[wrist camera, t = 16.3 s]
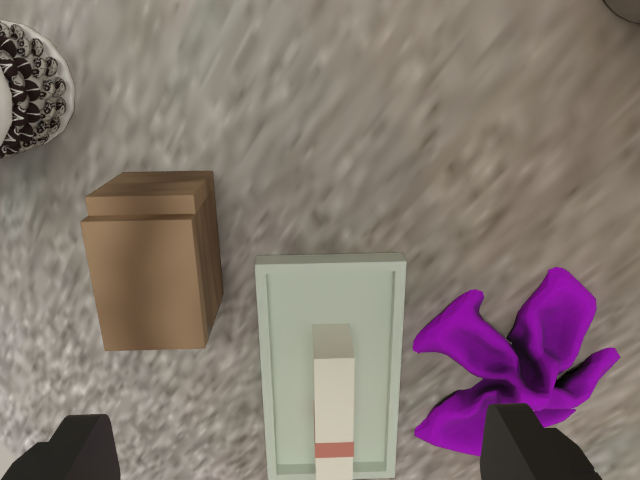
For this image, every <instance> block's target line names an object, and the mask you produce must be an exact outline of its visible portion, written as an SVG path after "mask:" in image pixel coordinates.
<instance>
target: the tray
mask: <svg viewBox="0 0 640 480" xmlns="http://www.w3.org/2000/svg"><path fill="white" fill-rule="evenodd" d="M406 262H407V261H406V259H405V257H404V255H403V253H361V254H314V255H268V256H257V257H256V261H255V277H256V294H257V310H258V326H259V342H260V358H261V374H262V390H263V406H264V422H265V439H266V455H267V471H268V480H316V469H315V439H314V368H313V324H342V323H349V327H350V333H351V339H352V345H353V351H354V357H355V369H354V432H353V438H354V457H353V479H371V478H395V461H396V443H397V425H398V407H399V389H400V370H401V352H402V334H403V316H404V298H405V280H406Z"/></svg>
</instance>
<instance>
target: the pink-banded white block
mask: <svg viewBox="0 0 640 480" xmlns="http://www.w3.org/2000/svg"><path fill="white" fill-rule="evenodd" d="M313 368H314V439H315V469H316V480H353V457H354V438H353V432H354V369H355V357H354V351H353V345H352V339H351V333H350V327H349V323H342V324H313Z"/></svg>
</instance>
